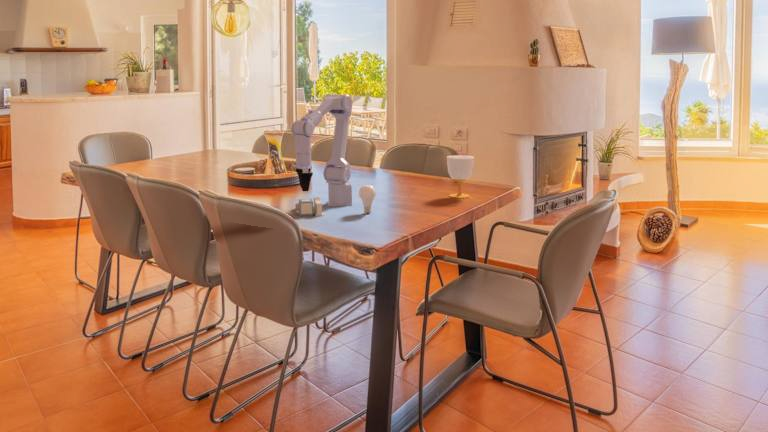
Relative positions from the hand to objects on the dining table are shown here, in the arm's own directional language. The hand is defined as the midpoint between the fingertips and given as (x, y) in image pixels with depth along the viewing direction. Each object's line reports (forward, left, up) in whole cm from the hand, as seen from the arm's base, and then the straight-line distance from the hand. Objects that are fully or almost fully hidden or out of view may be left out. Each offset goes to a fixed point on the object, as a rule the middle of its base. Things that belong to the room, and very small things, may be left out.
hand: (304, 189), depth 238 cm
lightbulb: (-23, +2, -10) cm, 26 cm away
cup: (-68, -23, -10) cm, 73 cm away
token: (+1, -9, -10) cm, 13 cm away
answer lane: (+1, -7, -10) cm, 12 cm away
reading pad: (0, 0, -10) cm, 10 cm away
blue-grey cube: (0, 0, -9) cm, 9 cm away
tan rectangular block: (-5, -2, -10) cm, 11 cm away
